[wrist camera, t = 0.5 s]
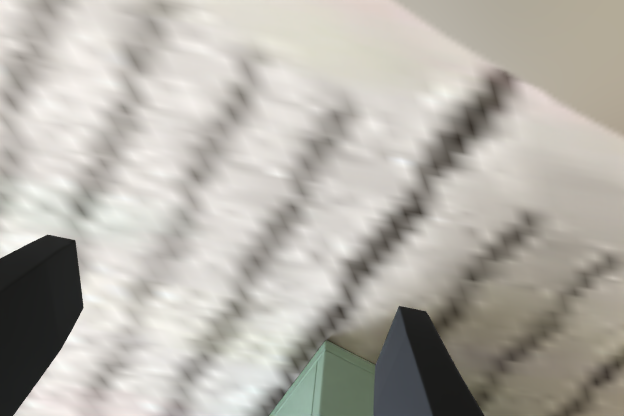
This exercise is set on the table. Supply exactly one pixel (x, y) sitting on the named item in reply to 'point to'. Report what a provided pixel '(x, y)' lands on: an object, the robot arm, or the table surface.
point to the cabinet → (331, 386)
